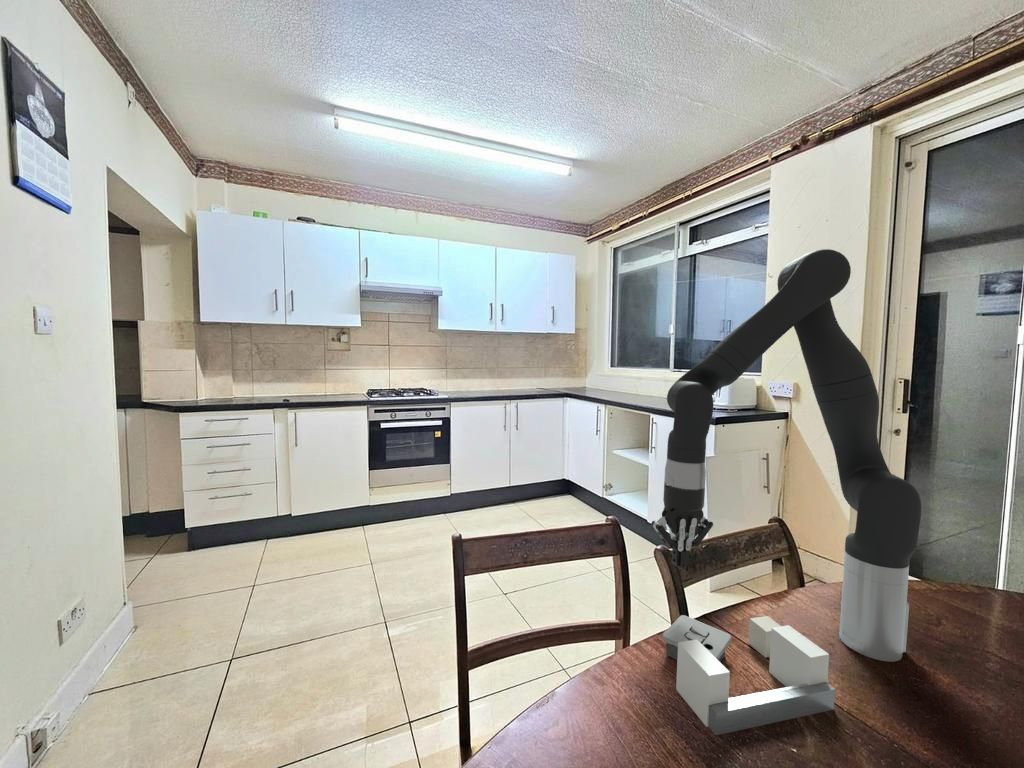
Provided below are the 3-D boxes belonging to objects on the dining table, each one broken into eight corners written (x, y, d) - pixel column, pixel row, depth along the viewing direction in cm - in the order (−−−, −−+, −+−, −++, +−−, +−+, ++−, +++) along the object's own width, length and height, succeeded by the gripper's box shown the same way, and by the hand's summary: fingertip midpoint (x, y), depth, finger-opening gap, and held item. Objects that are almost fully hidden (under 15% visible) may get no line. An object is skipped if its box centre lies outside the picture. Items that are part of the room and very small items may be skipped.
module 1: (694, 684, 72) (696, 638, 71) (727, 723, 64) (729, 671, 64) (675, 688, 71) (677, 641, 71) (706, 727, 64) (709, 675, 63)
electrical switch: (716, 661, 72) (663, 627, 78) (708, 688, 73) (657, 651, 79) (734, 636, 79) (684, 606, 85) (727, 660, 80) (678, 629, 86)
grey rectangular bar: (822, 701, 69) (823, 679, 69) (833, 710, 67) (835, 689, 67) (706, 725, 64) (707, 702, 64) (715, 736, 62) (716, 713, 62)
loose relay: (766, 641, 83) (767, 615, 83) (783, 655, 80) (785, 628, 79) (748, 643, 83) (749, 618, 82) (765, 658, 79) (766, 631, 78)
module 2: (784, 668, 76) (787, 624, 75) (825, 703, 68) (829, 654, 68) (767, 671, 75) (770, 626, 75) (807, 706, 68) (810, 657, 67)
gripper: (701, 475, 91) (696, 555, 93) (644, 477, 88) (640, 560, 90) (726, 486, 84) (721, 573, 85) (665, 489, 81) (660, 579, 82)
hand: (679, 566), depth 87 cm, fingers closed
